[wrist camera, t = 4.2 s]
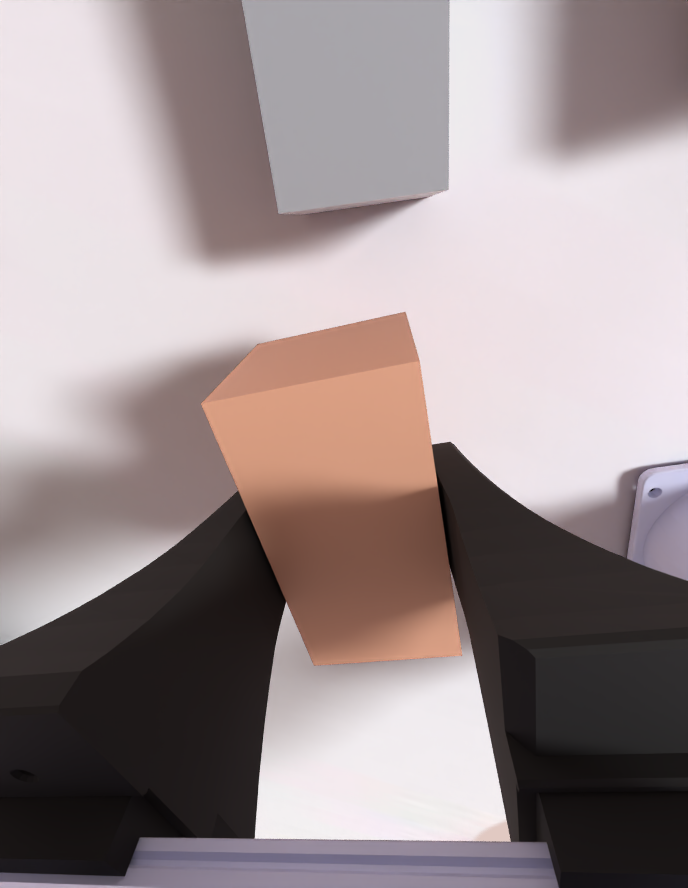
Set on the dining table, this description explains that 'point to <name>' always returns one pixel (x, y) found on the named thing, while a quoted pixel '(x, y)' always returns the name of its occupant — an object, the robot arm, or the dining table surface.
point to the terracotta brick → (343, 488)
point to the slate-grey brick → (352, 99)
